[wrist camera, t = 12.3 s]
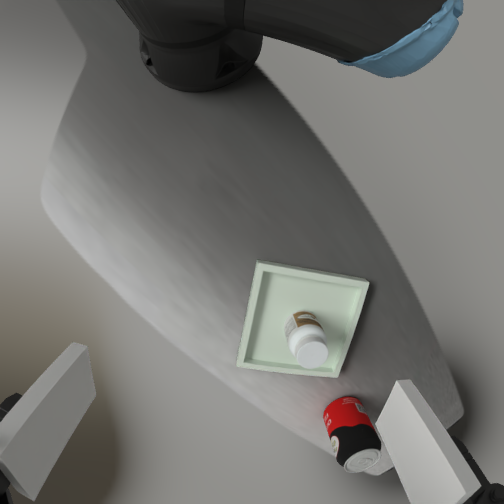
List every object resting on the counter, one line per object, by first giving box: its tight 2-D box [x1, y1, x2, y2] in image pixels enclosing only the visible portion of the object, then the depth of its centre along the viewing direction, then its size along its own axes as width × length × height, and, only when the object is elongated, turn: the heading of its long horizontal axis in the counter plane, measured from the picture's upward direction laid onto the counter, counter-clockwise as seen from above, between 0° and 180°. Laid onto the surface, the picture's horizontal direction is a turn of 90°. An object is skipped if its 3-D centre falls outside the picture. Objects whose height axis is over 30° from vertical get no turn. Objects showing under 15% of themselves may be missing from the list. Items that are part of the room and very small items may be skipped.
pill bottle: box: [284, 310, 329, 369], centre depth 33 cm, size 4×4×8 cm
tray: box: [236, 259, 369, 378], centre depth 36 cm, size 14×14×2 cm
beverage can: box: [323, 397, 381, 473], centre depth 34 cm, size 6×6×12 cm
